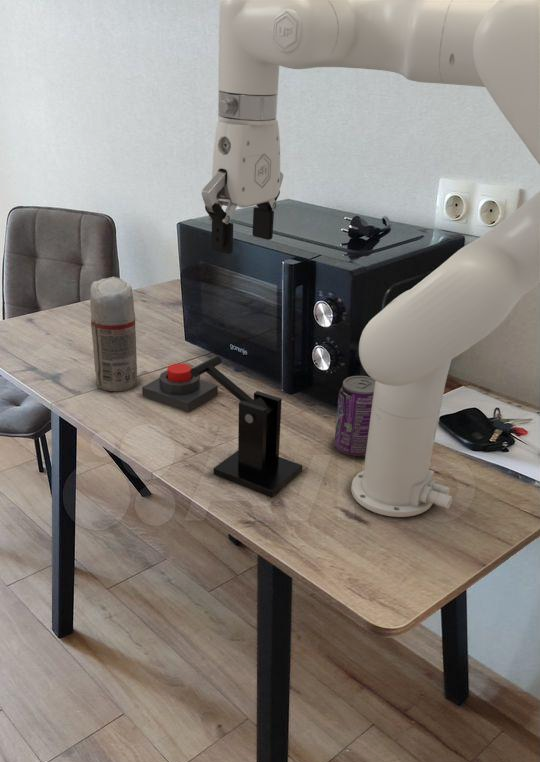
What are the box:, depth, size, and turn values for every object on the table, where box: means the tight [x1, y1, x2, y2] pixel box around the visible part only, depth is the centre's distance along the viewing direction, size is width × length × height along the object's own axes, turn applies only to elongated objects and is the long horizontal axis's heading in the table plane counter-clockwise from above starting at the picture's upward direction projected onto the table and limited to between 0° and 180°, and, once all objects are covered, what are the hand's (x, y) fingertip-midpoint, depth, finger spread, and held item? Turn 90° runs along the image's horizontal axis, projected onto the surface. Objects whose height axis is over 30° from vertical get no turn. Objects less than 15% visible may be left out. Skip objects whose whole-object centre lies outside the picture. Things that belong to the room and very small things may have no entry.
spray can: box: [89, 275, 138, 392], centre depth 131 cm, size 8×8×20 cm
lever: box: [191, 355, 274, 420], centre depth 106 cm, size 13×6×2 cm, turn 57°
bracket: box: [213, 390, 303, 498], centre depth 108 cm, size 11×9×13 cm
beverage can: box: [333, 375, 376, 457], centre depth 116 cm, size 7×7×12 cm
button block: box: [141, 370, 219, 413], centre depth 132 cm, size 11×9×4 cm
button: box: [166, 363, 192, 382], centre depth 131 cm, size 4×4×2 cm
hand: (242, 244), depth 99 cm, fingers open, 9 cm apart
